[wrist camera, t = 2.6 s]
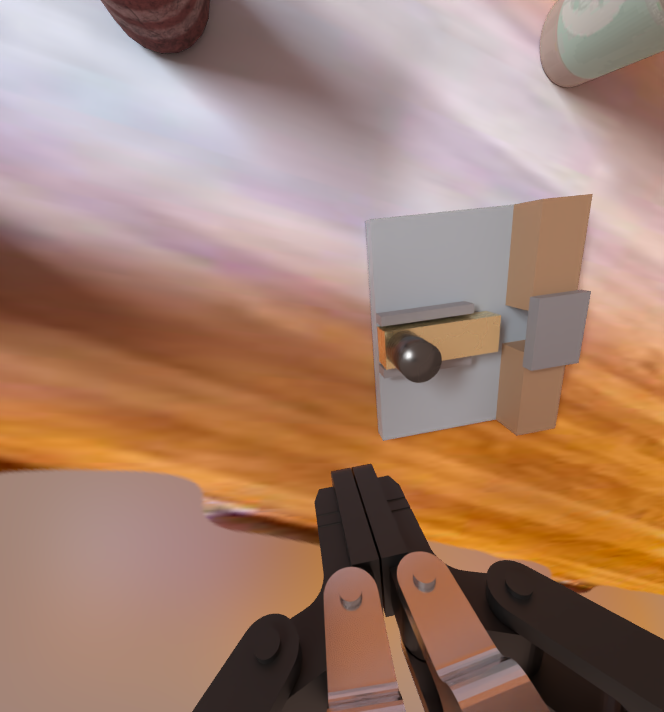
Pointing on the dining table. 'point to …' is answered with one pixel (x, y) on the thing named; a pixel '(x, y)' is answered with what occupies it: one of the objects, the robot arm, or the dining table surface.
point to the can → (161, 22)
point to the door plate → (482, 293)
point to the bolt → (436, 342)
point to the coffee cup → (599, 37)
